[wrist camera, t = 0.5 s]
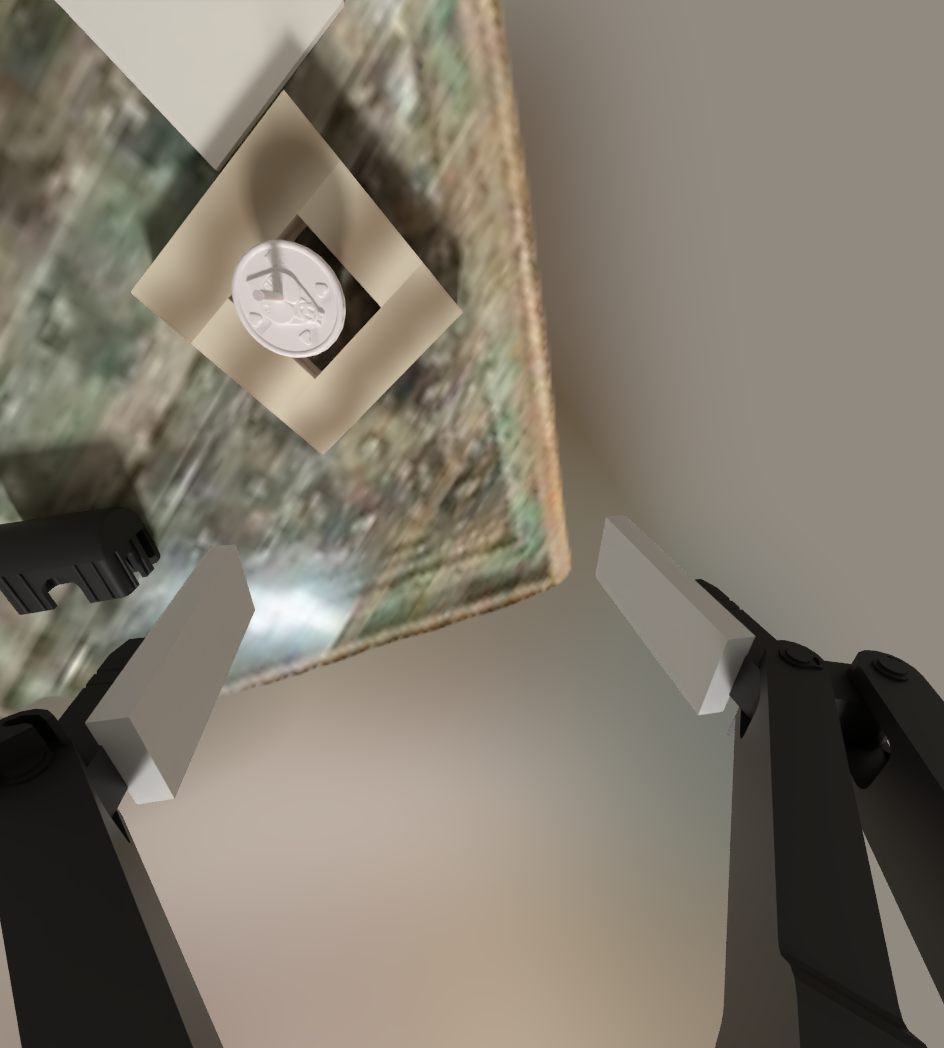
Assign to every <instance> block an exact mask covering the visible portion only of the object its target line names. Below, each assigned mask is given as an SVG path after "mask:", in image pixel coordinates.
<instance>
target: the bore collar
mask: <svg viewBox="0 0 944 1048" xmlns="http://www.w3.org/2000/svg"><path fill="white" fill-rule="evenodd" d="M307 225H308V227H309V228H310V229H311V230H312V231H313V232H314V233H315V234H316V235H317V237H318V238H319V239H320V240H321V241H322V242H323V243H324V244H325V245H326V247H327V248H328V249H329V250H330V251H331V252H332V253H333V254H334V255H335V257H336V258H337V259H338V260H339V261H340V262H341V263H342V264H343V265H344V267H345V268H346V269H347V270H348V271H349V272H350V273H351V274H352V276H353V277H354V278H355V279H356V280H357V281H358V282H359V283H360V284H361V286H362V287H363V288H364V289H365V290H366V291H367V292H368V293H369V294H370V296H371V297H372V298H373V299H374V300H375V301H376V302H377V303H378V304H379V306H380V307H381V308H380V309H379V310H378V311H377V313H376V314H375V315H374V316H373V317H372V318H371V319H370V320H369V321H368V322H367V323H366V324H365V326H364V327H363V328H362V329H361V330H360V331H359V332H358V333H357V334H356V335H355V336H354V337H353V339H352V340H351V341H350V342H349V343H348V344H347V345H346V346H345V347H344V348H343V349H342V350H341V352H340V353H339V354H338V355H337V356H336V357H335V358H334V359H333V360H332V361H331V362H330V363H329V365H328V366H327V367H326V368H325V369H324V370H323V371H321V370H320V369H319V368H318V367H317V366H316V365H315V364H314V363H313V362H312V361H310V360H309V359H308V358H307V357H305V358H304V357H301V358H294V357H287V356H283V355H280V354H277V353H275V352H273V351H271V350H269V349H267V348H266V347H264V346H263V345H261V344H260V343H259V342H258V341H256V340H255V339H254V338H253V337H252V336H251V335H250V333H249V332H248V331H247V330H246V328H245V327H244V325H243V324H242V322H241V320H240V318H239V316H238V314H237V311H236V309H235V305H234V302H233V296H232V279H233V274H234V271H235V268H236V265H237V263H238V262H239V260H240V258H241V257H242V256H243V254H244V253H245V252H246V251H247V250H249V249H250V248H251V247H253V246H254V245H256V244H258V243H261V242H264V241H268V240H286V241H291V242H294V241H295V240H296V239H297V237H298V236H299V235H300V234H301V233H302V231H303V230H304V229H305V228H306V227H307ZM130 293H132V294H133V295H134V296H135V297H136V298H137V299H139V300H140V301H141V302H142V303H143V304H145V305H146V306H147V307H148V308H149V309H150V310H152V311H153V312H154V313H155V314H156V315H158V316H159V317H160V318H161V319H162V320H164V321H165V322H166V323H167V324H168V325H169V326H171V327H172V328H173V329H174V330H175V331H177V332H178V333H179V334H180V335H181V336H182V337H184V338H185V339H186V340H187V341H188V342H190V343H191V344H192V345H193V346H194V347H195V348H197V349H198V350H199V351H200V352H201V353H203V354H204V355H205V356H206V357H207V358H208V359H210V360H211V361H212V362H213V363H214V364H216V365H217V366H218V367H219V368H220V369H222V370H223V371H224V372H225V373H226V374H227V375H229V376H230V377H231V378H232V379H233V380H235V381H236V382H237V383H238V384H239V385H240V386H242V387H243V388H244V389H245V390H246V391H248V392H249V393H250V394H251V395H252V396H253V397H255V398H256V399H257V400H258V401H259V402H261V403H262V404H263V405H264V406H265V407H267V408H268V409H269V410H270V411H271V412H272V413H274V414H275V415H276V416H277V417H278V418H280V419H281V420H282V421H283V422H284V423H285V424H287V425H288V426H289V427H290V428H291V429H293V430H294V431H295V432H296V433H297V434H298V435H300V436H301V437H302V438H303V439H304V440H306V441H307V442H308V443H309V444H310V445H311V446H313V447H314V448H315V449H316V450H317V451H319V452H320V453H321V454H322V455H324V454H325V453H326V452H327V451H328V450H329V449H330V448H331V447H332V446H333V445H334V444H335V443H336V442H337V441H338V440H339V439H340V438H341V436H342V435H343V434H344V433H345V432H346V431H347V430H348V429H349V428H350V427H351V426H352V425H353V424H354V423H355V422H356V421H357V420H358V419H359V418H360V417H361V416H362V415H363V414H364V413H365V412H366V411H367V410H368V409H369V408H370V407H371V406H372V405H373V404H374V403H375V402H376V401H377V400H378V399H379V398H380V397H381V396H382V395H383V394H384V392H385V391H386V390H387V389H388V388H389V387H390V386H391V385H392V384H393V383H394V382H395V381H396V380H397V379H398V378H399V377H400V376H401V375H402V374H403V373H404V372H405V371H406V370H407V369H408V368H409V367H410V366H411V365H412V364H413V363H414V362H415V361H416V360H417V359H418V358H419V357H420V356H421V355H422V354H423V353H424V352H425V351H426V350H427V349H428V347H429V346H430V345H431V344H432V343H433V342H434V341H435V340H436V339H437V338H438V337H439V336H440V335H441V334H442V333H443V332H444V331H445V330H446V329H447V328H448V327H449V326H450V325H451V324H452V323H453V322H454V321H455V320H456V319H457V318H458V317H459V316H460V315H461V314H462V313H463V312H462V311H461V309H460V308H459V307H458V306H457V304H456V303H455V302H454V301H453V299H452V298H451V297H450V296H449V294H448V293H447V292H446V291H445V289H444V288H443V287H442V286H441V284H440V283H439V282H438V281H437V280H436V278H435V277H434V276H433V275H432V273H431V272H430V271H429V270H428V268H427V267H426V266H425V265H424V263H423V262H422V261H421V260H420V258H419V257H418V256H417V255H416V253H415V252H414V251H413V250H412V248H411V247H410V246H409V245H408V243H407V242H406V241H405V240H404V238H403V237H402V236H401V235H400V234H399V232H398V231H397V230H396V229H395V227H394V226H393V225H392V224H391V222H390V221H389V220H388V219H387V217H386V216H385V215H384V214H383V212H382V211H381V210H380V209H379V207H378V206H377V205H376V204H375V202H374V201H373V200H372V199H371V197H370V196H369V195H368V194H367V193H366V191H365V190H364V189H363V188H362V186H361V185H360V184H359V183H358V181H357V180H356V179H355V178H354V176H353V175H352V174H351V173H350V171H349V170H348V169H347V168H346V166H345V165H344V164H343V163H342V161H341V160H340V159H339V158H338V156H337V155H336V154H335V153H334V151H333V150H332V149H331V148H330V147H329V145H328V144H327V143H326V142H325V140H324V139H323V138H322V137H321V135H320V134H319V133H318V132H317V130H316V129H315V128H314V127H313V125H312V124H311V123H310V122H309V120H308V119H307V118H306V117H305V115H304V114H303V113H302V112H301V110H300V109H299V108H298V107H297V106H296V104H295V103H294V102H293V101H292V99H291V98H290V97H289V96H288V94H287V93H286V92H285V91H284V90H283V91H282V92H281V94H280V95H279V96H278V98H277V99H276V100H275V102H274V103H273V104H272V106H271V107H270V108H269V110H268V111H267V112H266V114H265V115H264V116H263V118H262V119H261V120H260V122H259V123H258V124H257V126H256V127H255V128H254V129H253V131H252V132H251V133H250V135H249V136H248V137H247V139H246V140H245V141H244V143H243V144H242V145H241V147H240V148H239V149H238V151H237V152H236V153H235V155H234V156H233V157H232V159H231V160H230V161H229V163H228V164H227V165H226V167H225V168H224V169H223V171H222V172H221V173H220V174H219V176H218V177H217V178H216V180H215V181H214V182H213V184H212V185H211V186H210V188H209V189H208V190H207V192H206V193H205V194H204V196H203V197H202V198H201V200H200V201H199V202H198V204H197V205H196V206H195V208H194V209H193V210H192V212H191V213H190V214H189V215H188V217H187V218H186V219H185V221H184V222H183V223H182V225H181V226H180V227H179V229H178V230H177V231H176V233H175V234H174V235H173V237H172V238H171V239H170V241H169V242H168V243H167V245H166V246H165V247H164V249H163V250H162V251H161V253H160V254H159V255H158V256H157V258H156V259H155V260H154V262H153V263H152V264H151V266H150V267H149V268H148V270H147V271H146V272H145V274H144V275H143V276H142V278H141V279H140V280H139V282H138V283H137V284H136V286H135V287H134V288H133V290H132V291H131V292H130Z"/></svg>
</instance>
